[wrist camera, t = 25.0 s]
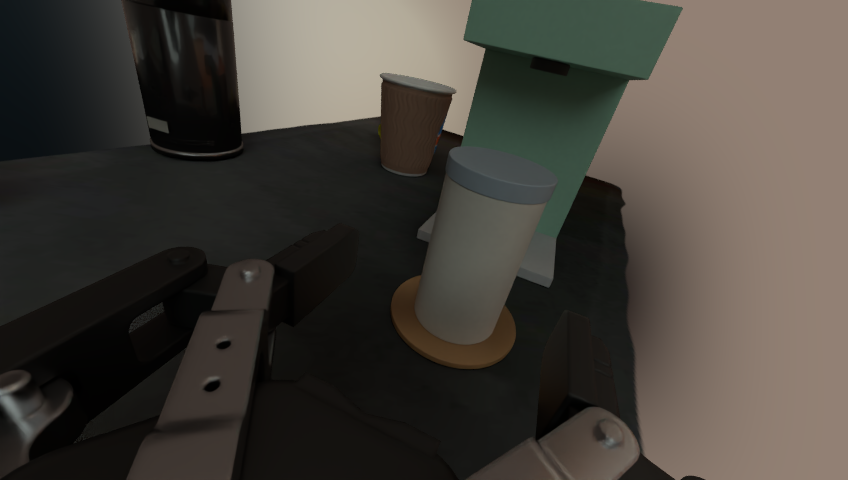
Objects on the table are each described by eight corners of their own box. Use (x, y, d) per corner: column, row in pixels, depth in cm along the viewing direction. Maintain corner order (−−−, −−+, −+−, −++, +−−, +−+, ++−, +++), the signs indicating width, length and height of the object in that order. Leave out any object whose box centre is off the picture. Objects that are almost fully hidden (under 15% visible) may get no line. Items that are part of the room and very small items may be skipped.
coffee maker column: (552, 246, 37) (654, 25, 26) (444, 208, 40) (498, -3, 29) (554, 225, 42) (640, 35, 32) (459, 193, 45) (508, 10, 35)
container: (401, 290, 24) (431, 142, 19) (469, 282, 27) (514, 150, 21) (433, 354, 20) (486, 184, 14) (512, 338, 22) (582, 188, 17)
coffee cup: (449, 182, 48) (471, 94, 42) (383, 181, 43) (397, 82, 38) (420, 158, 56) (435, 81, 50) (361, 154, 51) (369, 69, 45)
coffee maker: (548, 288, 29) (688, 3, 19) (416, 237, 32) (474, -31, 22) (552, 245, 37) (654, 26, 26) (445, 208, 40) (498, -2, 29)
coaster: (374, 282, 25) (375, 278, 25) (473, 272, 29) (475, 269, 29) (418, 384, 18) (419, 379, 18) (540, 353, 22) (542, 349, 22)
